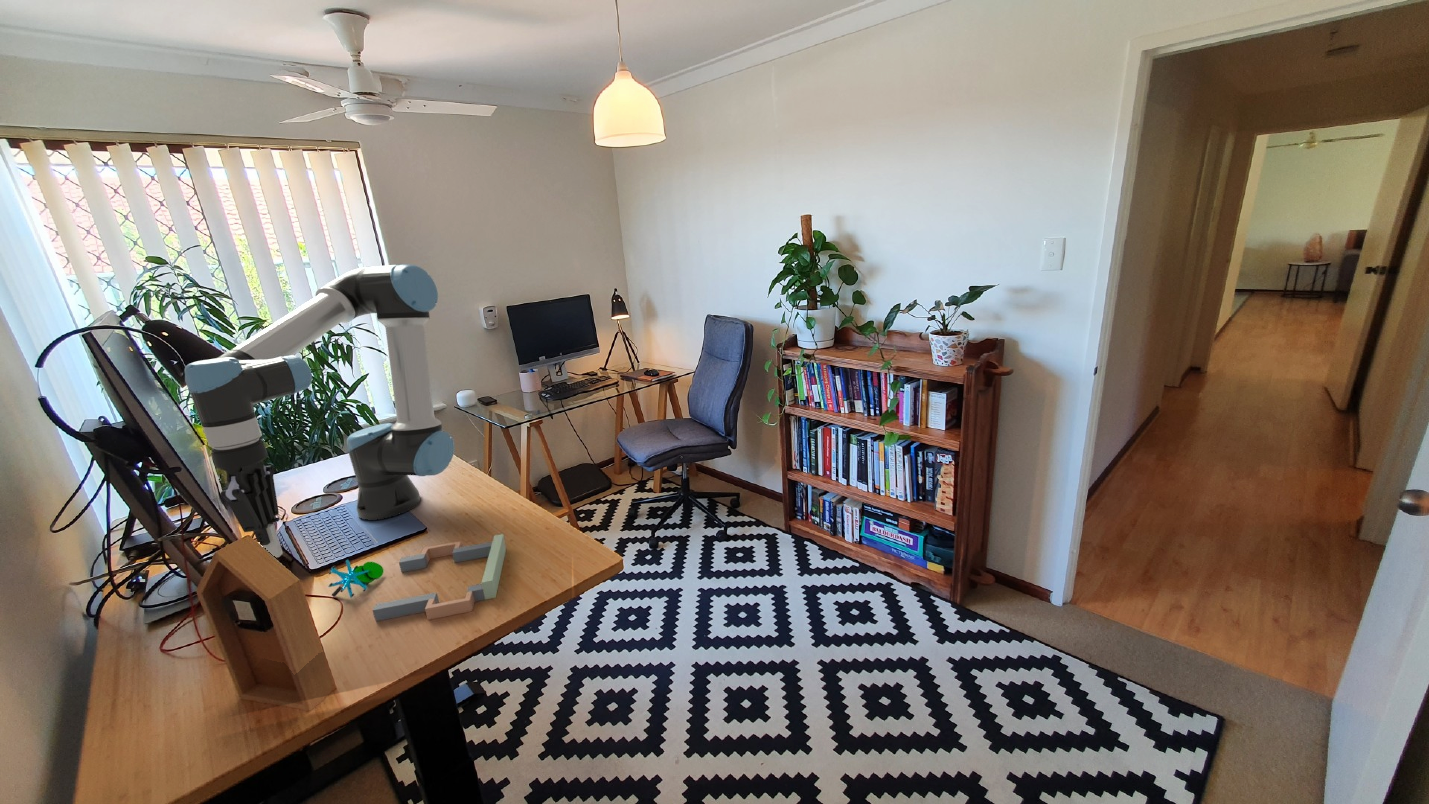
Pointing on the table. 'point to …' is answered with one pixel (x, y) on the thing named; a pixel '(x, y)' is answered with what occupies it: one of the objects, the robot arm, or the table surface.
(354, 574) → the stick construction toy
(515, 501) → the table surface
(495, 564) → the wall
